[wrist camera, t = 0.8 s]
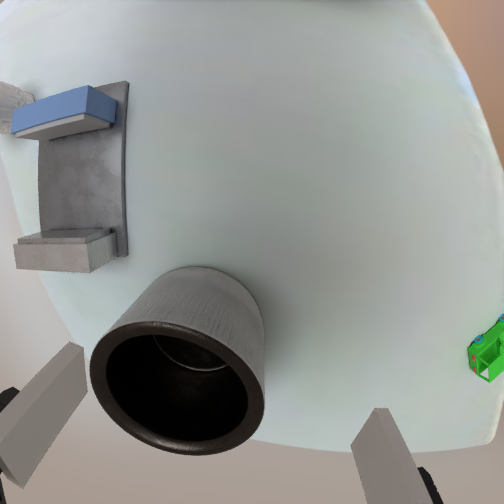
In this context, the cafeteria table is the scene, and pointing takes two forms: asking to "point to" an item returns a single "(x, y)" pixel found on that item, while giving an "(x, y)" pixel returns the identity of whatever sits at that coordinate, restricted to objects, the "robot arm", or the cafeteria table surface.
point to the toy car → (488, 352)
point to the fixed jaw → (66, 250)
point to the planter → (185, 364)
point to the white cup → (11, 104)
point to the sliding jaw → (64, 114)
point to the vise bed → (87, 176)
